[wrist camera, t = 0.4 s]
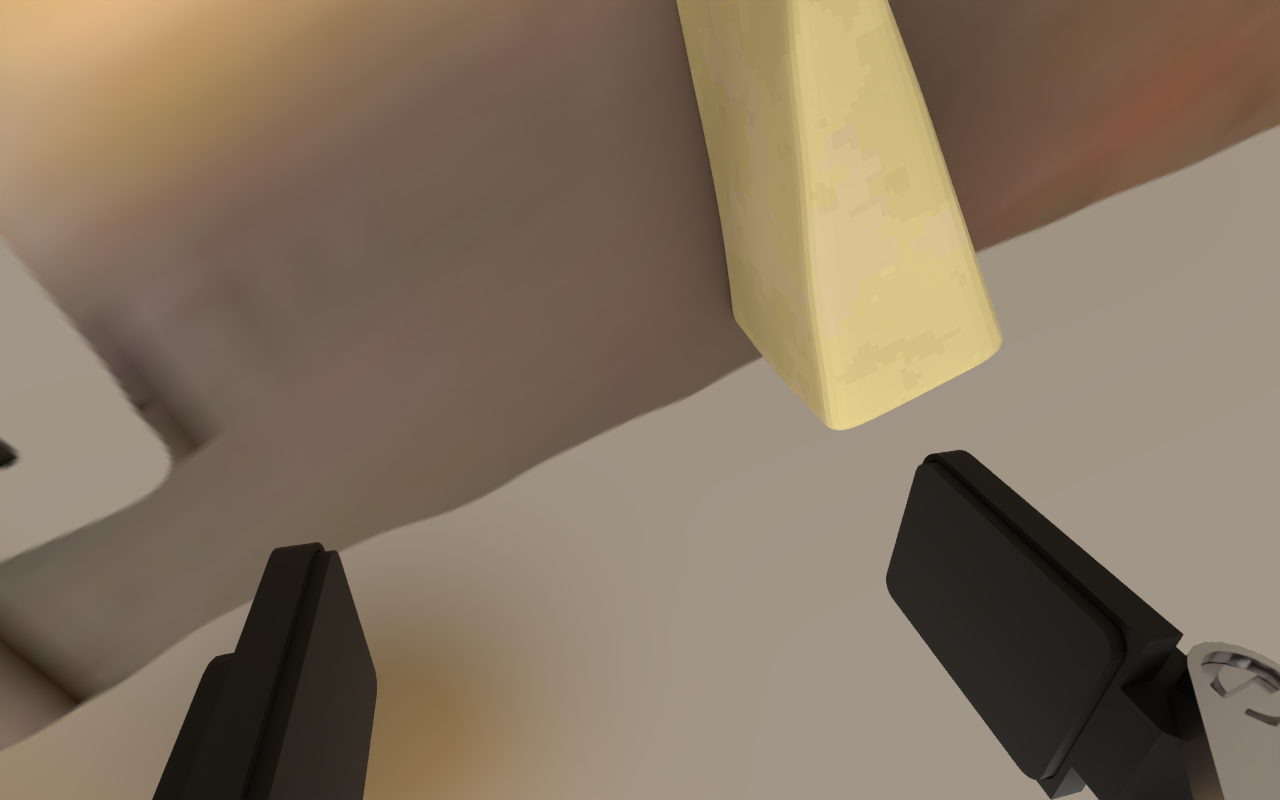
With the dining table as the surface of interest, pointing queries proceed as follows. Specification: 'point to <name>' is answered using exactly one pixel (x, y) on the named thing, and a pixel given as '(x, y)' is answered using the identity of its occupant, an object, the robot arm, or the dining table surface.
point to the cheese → (835, 203)
